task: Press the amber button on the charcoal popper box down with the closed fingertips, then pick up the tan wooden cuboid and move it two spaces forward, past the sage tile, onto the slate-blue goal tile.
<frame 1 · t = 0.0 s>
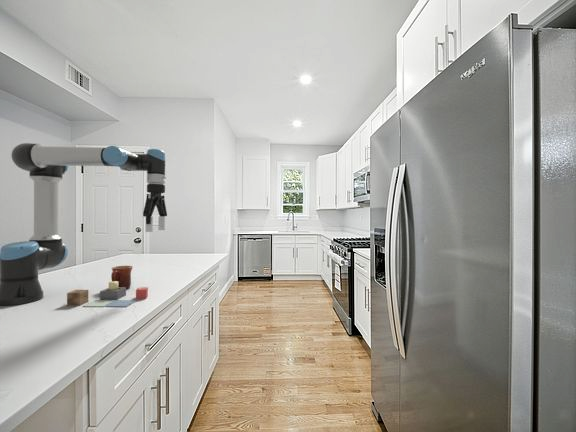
hand: (155, 231, 137), 28 cm above the worktop, fingers open, 13 cm apart
button: (113, 286, 129), point 4 cm above the worktop, slide at 0.0 cm
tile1: (99, 303, 120), on the worktop
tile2: (121, 303, 120), on the worktop
tan wooden cuboid: (77, 303, 120), on the worktop
mug: (120, 290, 142), on the worktop
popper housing: (113, 297, 129), on the worktop
die: (141, 297, 129), on the worktop
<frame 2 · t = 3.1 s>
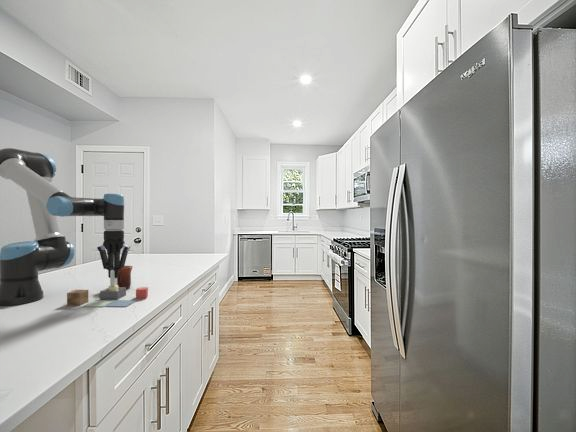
hand: (113, 285, 129), 5 cm above the worktop, fingers closed
button: (113, 290, 129), point 3 cm above the worktop, slide at -1.7 cm
everything else where it was.
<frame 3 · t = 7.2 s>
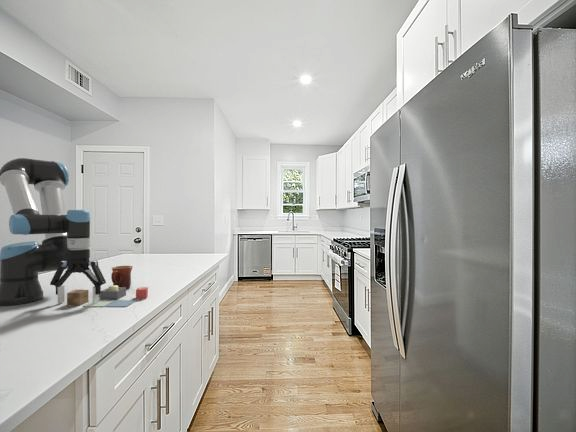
hand: (78, 302, 119), 0 cm above the worktop, fingers open, 13 cm apart
nothing on the worktop moved.
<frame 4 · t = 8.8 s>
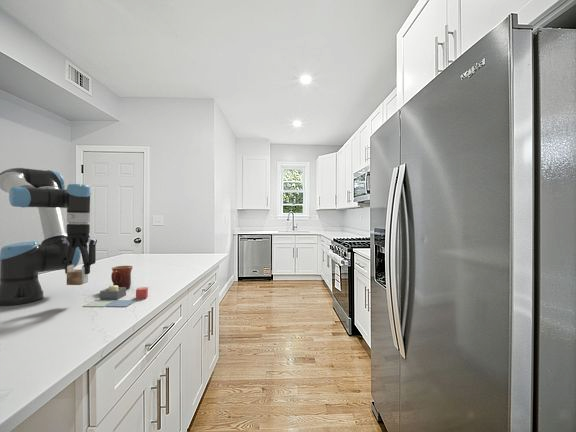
hand: (77, 281, 120), 8 cm above the worktop, fingers closed on tan wooden cuboid, 5 cm apart
tan wooden cuboid: (77, 283, 120), point 8 cm above the worktop, touching gripper
everything else where it was.
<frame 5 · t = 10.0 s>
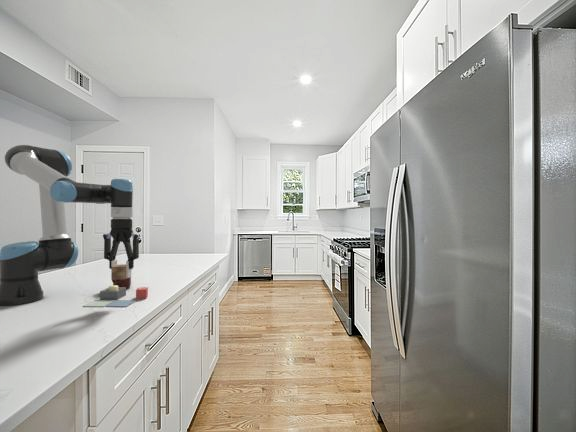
hand: (121, 276, 120), 11 cm above the worktop, fingers closed on tan wooden cuboid, 5 cm apart
tan wooden cuboid: (121, 278, 120), point 10 cm above the worktop, touching gripper
everything else where it was.
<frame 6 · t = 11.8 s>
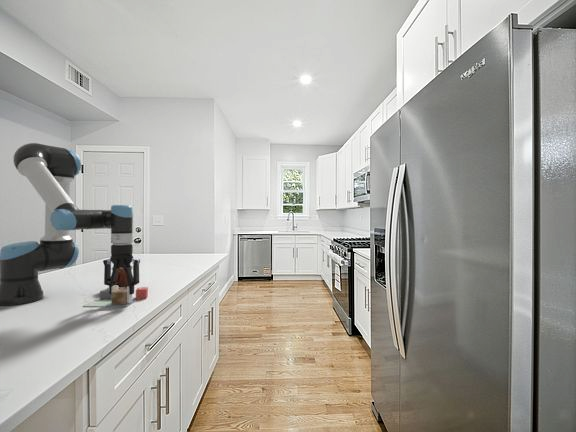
hand: (121, 302, 120), 1 cm above the worktop, fingers closed on tan wooden cuboid, 5 cm apart
tan wooden cuboid: (121, 303, 120), resting on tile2, touching gripper
everything else where it was.
when the fingers open (1 cm above the worktop, at t = 11.8 s): tan wooden cuboid stays where it is, resting on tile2.
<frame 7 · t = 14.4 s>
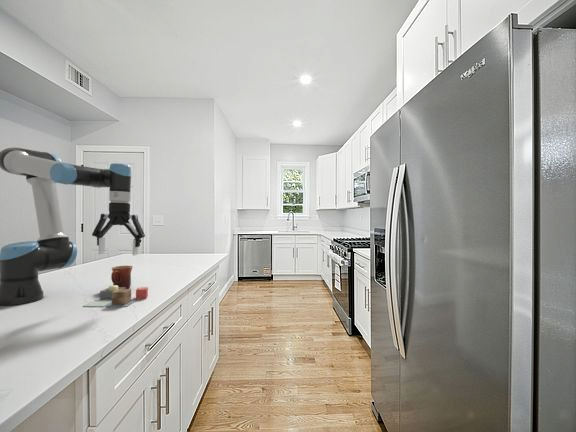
hand: (118, 254, 123), 19 cm above the worktop, fingers open, 13 cm apart
tan wooden cuboid: (121, 303, 120), resting on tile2
everything else where it was.
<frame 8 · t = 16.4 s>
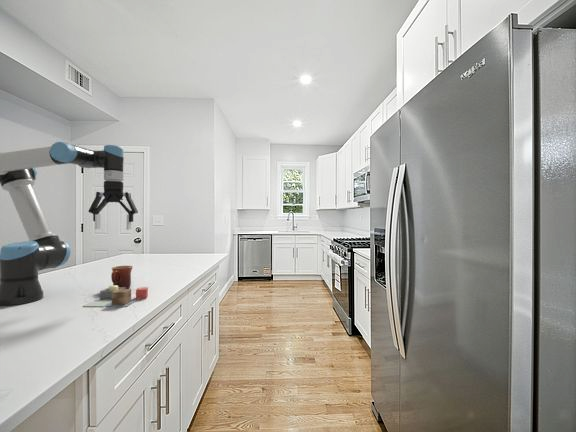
hand: (113, 229, 134), 29 cm above the worktop, fingers open, 13 cm apart
nothing on the worktop moved.
at the end: tan wooden cuboid inside the target area on the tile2 (0.3 cm from its centre), point 0.3 cm above the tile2's base; tan wooden cuboid tilted 0°; button slide at -1.8 cm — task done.
